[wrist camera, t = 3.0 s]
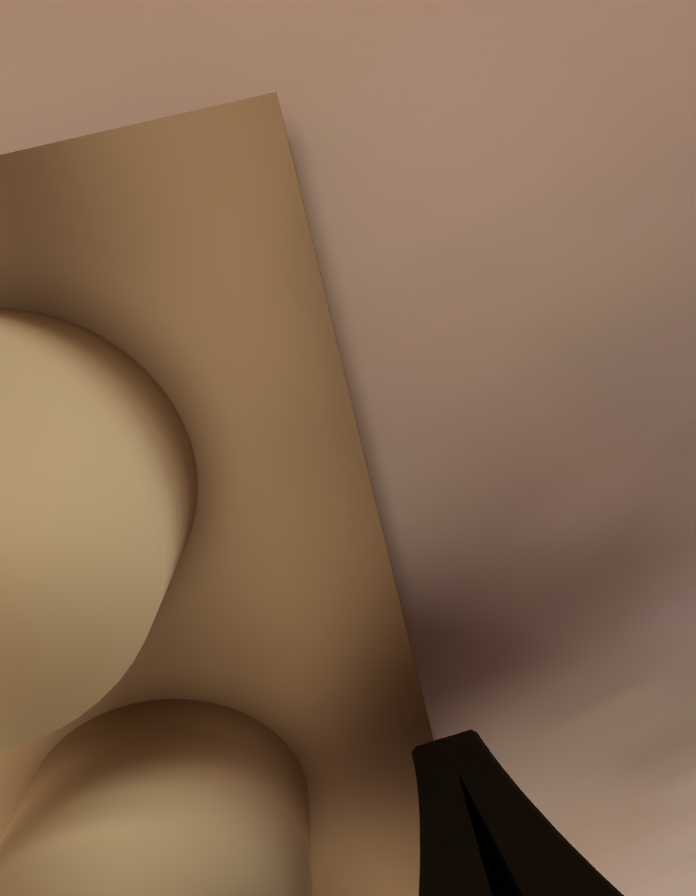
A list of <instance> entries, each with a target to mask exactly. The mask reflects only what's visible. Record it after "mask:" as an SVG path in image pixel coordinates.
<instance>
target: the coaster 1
mask: <svg viewBox="0 0 696 896" xmlns="http://www.w3.org/2000/svg"><path fill="white" fill-rule="evenodd" d="M197 496H198V479H197V466H196V462H195V457H194V453H193V448H192V444H191V442H190V439H189V436H188V434H187V431H186V428H185V426H184V424H183V422H182V420H181V418H180V416H179V414H178V412H177V410H176V408H175V406H174V405H173V403H172V402H171V401H170V399H169V398H168V396H167V395H166V393H165V392H164V391H163V389H162V388H161V386H160V385H159V384H158V383H157V382H156V381H155V380H154V379H153V378H152V376H151V375H150V374H149V373H148V372H147V371H146V370H145V369H144V368H143V367H142V366H141V365H140V364H139V363H137V362H136V361H135V360H134V359H133V358H132V357H130V356H129V355H128V354H127V353H126V352H124V351H123V350H121V349H120V348H118V347H117V346H115V345H114V344H113V343H111V342H110V341H108V340H107V339H105V338H103V337H101V336H99V335H97V334H95V333H94V332H92V331H90V330H88V329H86V328H84V327H82V326H79V325H76V324H74V323H71V322H68V321H66V320H63V319H61V318H58V317H54V316H50V315H46V314H42V313H38V312H33V311H25V310H17V309H9V308H0V752H2V751H5V750H9V749H12V748H15V747H18V746H21V745H25V744H28V743H30V742H32V741H35V740H37V739H39V738H41V737H44V736H46V735H48V734H51V733H53V732H55V731H56V730H58V729H60V728H62V727H63V726H65V725H67V724H68V723H70V722H72V721H73V720H75V719H77V718H78V717H80V716H81V715H82V714H84V713H85V712H86V711H87V710H89V709H90V708H91V707H93V706H94V705H95V704H97V703H98V702H99V701H100V700H101V699H102V698H103V697H104V696H105V695H106V694H107V693H108V692H109V691H110V690H111V689H112V688H113V687H114V686H115V685H116V684H117V683H118V682H119V680H120V679H121V678H122V676H123V675H124V674H125V672H126V671H127V670H128V668H129V667H130V666H131V664H132V663H133V662H134V660H135V658H136V656H137V654H138V653H139V651H140V649H141V647H142V645H143V643H144V642H145V640H146V638H147V635H148V633H149V631H150V628H151V626H152V623H153V621H154V619H155V616H156V614H157V612H158V609H159V607H160V604H161V602H162V600H163V597H164V595H165V593H166V590H167V588H168V585H169V583H170V581H171V578H172V576H173V574H174V571H175V569H176V566H177V564H178V562H179V559H180V557H181V555H182V552H183V550H184V547H185V545H186V543H187V540H188V537H189V534H190V532H191V529H192V526H193V522H194V517H195V513H196V508H197Z"/></svg>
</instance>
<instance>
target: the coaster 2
mask: <svg viewBox="0 0 696 896" xmlns="http://www.w3.org/2000/svg"><path fill="white" fill-rule="evenodd" d="M0 896H313V889H312V867H311V846H310V825H309V803H308V790H307V785H306V780H305V777H304V774H303V771H302V769H301V766H300V764H299V762H298V761H297V759H296V757H295V755H294V753H293V752H292V751H291V750H290V748H289V747H288V746H287V745H286V743H285V742H284V741H283V740H282V739H281V738H280V737H279V736H278V735H277V734H276V733H274V732H273V731H272V730H271V729H269V728H268V727H267V726H265V725H264V724H262V723H261V722H260V721H258V720H256V719H254V718H252V717H250V716H248V715H247V714H245V713H242V712H240V711H237V710H234V709H232V708H229V707H226V706H223V705H219V704H215V703H211V702H205V701H198V700H191V699H162V700H150V701H144V702H139V703H134V704H129V705H126V706H123V707H120V708H116V709H113V710H110V711H108V712H106V713H103V714H101V715H99V716H96V717H94V718H93V719H91V720H89V721H87V722H86V723H84V724H82V725H80V726H79V727H77V728H76V729H75V730H73V731H72V732H71V733H69V734H68V735H67V736H65V737H64V738H63V739H62V740H61V741H60V742H59V743H58V744H57V745H56V746H55V747H54V748H53V749H52V750H51V751H50V752H49V754H48V755H47V756H46V758H45V759H44V760H43V762H42V763H41V765H40V767H39V768H38V770H37V772H36V774H35V776H34V778H33V779H32V781H31V783H30V785H29V787H28V789H27V791H26V792H25V794H24V796H23V798H22V800H21V802H20V803H19V805H18V807H17V809H16V811H15V813H14V814H13V816H12V818H11V820H10V822H9V824H8V825H7V827H6V829H5V831H4V833H3V835H2V837H1V838H0Z"/></svg>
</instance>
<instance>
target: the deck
mask: <svg viewBox="0 0 696 896" xmlns="http://www.w3.org/2000/svg"><path fill="white" fill-rule="evenodd" d="M0 308H9V309H17V310H25V311H33V312H38V313H42V314H46V315H50V316H54V317H58V318H61V319H63V320H66V321H68V322H71V323H74V324H76V325H79V326H82V327H84V328H86V329H88V330H90V331H92V332H94V333H95V334H97V335H99V336H101V337H103V338H105V339H107V340H108V341H110V342H111V343H113V344H114V345H115V346H117V347H118V348H120V349H121V350H123V351H124V352H126V353H127V354H128V355H129V356H130V357H132V358H133V359H134V360H135V361H136V362H137V363H139V364H140V365H141V366H142V367H143V368H144V369H145V370H146V371H147V372H148V373H149V374H150V375H151V376H152V378H153V379H154V380H155V381H156V382H157V383H158V384H159V385H160V386H161V388H162V389H163V391H164V392H165V393H166V395H167V396H168V398H169V399H170V401H171V402H172V403H173V405H174V406H175V408H176V410H177V412H178V414H179V416H180V418H181V420H182V422H183V424H184V426H185V428H186V431H187V434H188V436H189V439H190V442H191V444H192V448H193V453H194V457H195V462H196V466H197V479H198V496H197V508H196V513H195V517H194V522H193V526H192V529H191V532H190V534H189V537H188V540H187V543H186V545H185V547H184V550H183V552H182V555H181V557H180V559H179V562H178V564H177V566H176V569H175V571H174V574H173V576H172V578H171V581H170V583H169V585H168V588H167V590H166V593H165V595H164V597H163V600H162V602H161V604H160V607H159V609H158V612H157V614H156V616H155V619H154V621H153V623H152V626H151V628H150V631H149V633H148V635H147V638H146V640H145V642H144V643H143V645H142V647H141V649H140V651H139V653H138V654H137V656H136V658H135V660H134V662H133V663H132V664H131V666H130V667H129V668H128V670H127V671H126V672H125V674H124V675H123V676H122V678H121V679H120V680H119V682H118V683H117V684H116V685H115V686H114V687H113V688H112V689H111V690H110V691H109V692H108V693H107V694H106V695H105V696H104V697H103V698H102V699H101V700H100V701H99V702H98V703H97V704H95V705H94V706H93V707H91V708H90V709H89V710H87V711H86V712H85V713H84V714H82V715H81V716H80V717H78V718H77V719H75V720H73V721H72V722H70V723H68V724H67V725H65V726H63V727H62V728H60V729H58V730H56V731H55V732H53V733H51V734H48V735H46V736H44V737H41V738H39V739H37V740H35V741H32V742H30V743H28V744H25V745H21V746H18V747H15V748H12V749H9V750H5V751H2V752H0V838H1V837H2V835H3V833H4V831H5V829H6V827H7V825H8V824H9V822H10V820H11V818H12V816H13V814H14V813H15V811H16V809H17V807H18V805H19V803H20V802H21V800H22V798H23V796H24V794H25V792H26V791H27V789H28V787H29V785H30V783H31V781H32V779H33V778H34V776H35V774H36V772H37V770H38V768H39V767H40V765H41V763H42V762H43V760H44V759H45V758H46V756H47V755H48V754H49V752H50V751H51V750H52V749H53V748H54V747H55V746H56V745H57V744H58V743H59V742H60V741H61V740H62V739H63V738H64V737H65V736H67V735H68V734H69V733H71V732H72V731H73V730H75V729H76V728H77V727H79V726H80V725H82V724H84V723H86V722H87V721H89V720H91V719H93V718H94V717H96V716H99V715H101V714H103V713H106V712H108V711H110V710H113V709H116V708H120V707H123V706H126V705H129V704H134V703H139V702H144V701H150V700H162V699H191V700H198V701H205V702H211V703H215V704H219V705H223V706H226V707H229V708H232V709H234V710H237V711H240V712H242V713H245V714H247V715H248V716H250V717H252V718H254V719H256V720H258V721H260V722H261V723H262V724H264V725H265V726H267V727H268V728H269V729H271V730H272V731H273V732H274V733H276V734H277V735H278V736H279V737H280V738H281V739H282V740H283V741H284V742H285V743H286V745H287V746H288V747H289V748H290V750H291V751H292V752H293V753H294V755H295V757H296V759H297V761H298V762H299V764H300V766H301V769H302V771H303V774H304V777H305V780H306V785H307V790H308V803H309V825H310V846H311V867H312V889H313V896H419V875H420V819H419V801H418V788H417V779H416V772H415V766H414V761H413V757H412V753H411V752H412V751H413V749H414V748H415V746H419V745H422V744H425V743H429V742H432V741H433V737H432V733H431V729H430V725H429V720H428V716H427V712H426V708H425V704H424V700H423V696H422V692H421V687H420V683H419V679H418V675H417V671H416V667H415V663H414V658H413V654H412V650H411V646H410V642H409V638H408V634H407V630H406V625H405V621H404V617H403V613H402V609H401V605H400V601H399V597H398V592H397V588H396V584H395V580H394V576H393V572H392V568H391V563H390V559H389V555H388V551H387V547H386V543H385V539H384V535H383V530H382V526H381V522H380V518H379V514H378V510H377V506H376V502H375V497H374V493H373V489H372V485H371V481H370V477H369V473H368V469H367V464H366V460H365V456H364V452H363V448H362V444H361V440H360V435H359V431H358V427H357V423H356V419H355V415H354V411H353V407H352V402H351V398H350V394H349V390H348V386H347V382H346V378H345V374H344V369H343V365H342V361H341V357H340V353H339V349H338V345H337V341H336V336H335V332H334V328H333V324H332V320H331V316H330V312H329V307H328V303H327V299H326V295H325V291H324V287H323V283H322V279H321V274H320V270H319V266H318V262H317V258H316V254H315V250H314V246H313V241H312V237H311V233H310V229H309V225H308V221H307V217H306V212H305V208H304V204H303V200H302V196H301V192H300V188H299V184H298V179H297V175H296V171H295V167H294V163H293V159H292V155H291V151H290V146H289V142H288V138H287V134H286V130H285V126H284V122H283V118H282V113H281V109H280V105H279V101H278V97H277V93H276V92H275V93H271V94H266V95H262V96H258V97H253V98H249V99H244V100H240V101H236V102H231V103H227V104H222V105H218V106H214V107H209V108H205V109H200V110H196V111H192V112H187V113H183V114H179V115H174V116H170V117H165V118H161V119H157V120H152V121H148V122H143V123H139V124H135V125H130V126H126V127H121V128H117V129H113V130H108V131H104V132H100V133H95V134H91V135H86V136H82V137H78V138H73V139H69V140H64V141H60V142H56V143H51V144H47V145H43V146H38V147H34V148H29V149H25V150H21V151H16V152H12V153H7V154H3V155H0Z"/></svg>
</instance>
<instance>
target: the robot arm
mask: <svg viewBox="0 0 696 896" xmlns="http://www.w3.org/2000/svg"><path fill="white" fill-rule="evenodd" d="M411 753H412V757H413V761H414V766H415V772H416V779H417V788H418V801H419V819H420V875H419V896H624V895H623V894H621V893H620V892H619V891H618V890H617V889H616V888H615V887H614V886H613V885H612V884H611V883H610V882H609V881H607V880H606V879H605V878H604V877H603V876H602V875H601V874H600V873H599V872H598V871H597V870H596V869H595V868H594V867H593V866H592V865H591V864H590V863H589V862H588V861H587V860H586V859H585V858H584V857H583V856H582V855H581V854H580V853H579V852H578V851H577V850H576V849H575V848H574V847H573V846H572V845H571V844H570V843H569V842H568V841H567V840H566V839H565V838H564V837H563V836H562V835H561V834H560V833H559V832H558V831H557V830H556V828H555V827H554V826H553V825H552V824H551V823H550V822H549V821H548V820H547V819H546V818H545V816H544V815H543V814H542V813H541V812H540V811H539V810H538V809H537V808H536V807H535V805H534V804H533V803H532V802H531V801H530V800H529V799H528V798H527V796H526V795H525V794H524V793H523V792H522V791H521V790H520V788H519V787H518V786H517V785H516V784H515V782H514V781H513V780H512V779H511V777H510V776H509V775H508V774H507V773H506V771H505V770H504V769H503V768H502V766H501V765H500V764H499V763H498V761H497V760H496V759H495V757H494V756H493V755H492V753H491V752H490V751H489V749H488V748H487V746H486V745H485V743H484V742H483V741H482V739H481V738H480V736H479V734H478V733H477V732H475V731H473V730H468V731H465V732H462V733H458V734H455V735H452V736H448V737H445V738H442V739H438V740H435V741H432V742H429V743H425V744H422V745H419V746H415V748H414V749H413V751H412V752H411Z"/></svg>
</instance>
